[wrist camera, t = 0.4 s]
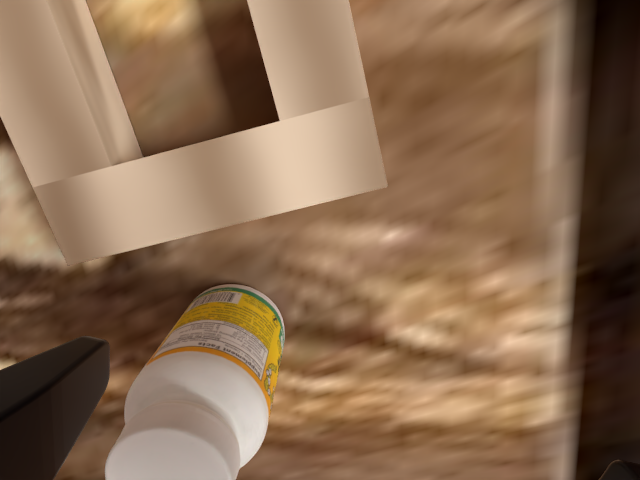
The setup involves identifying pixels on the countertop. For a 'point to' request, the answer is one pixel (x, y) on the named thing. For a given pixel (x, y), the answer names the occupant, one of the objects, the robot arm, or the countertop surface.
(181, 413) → the supplement bottle
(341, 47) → the socket block
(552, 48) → the countertop surface
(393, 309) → the countertop surface
